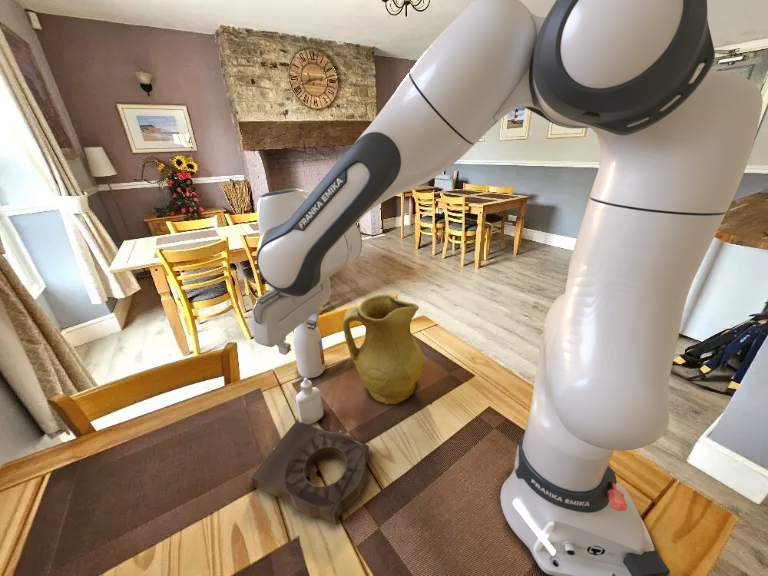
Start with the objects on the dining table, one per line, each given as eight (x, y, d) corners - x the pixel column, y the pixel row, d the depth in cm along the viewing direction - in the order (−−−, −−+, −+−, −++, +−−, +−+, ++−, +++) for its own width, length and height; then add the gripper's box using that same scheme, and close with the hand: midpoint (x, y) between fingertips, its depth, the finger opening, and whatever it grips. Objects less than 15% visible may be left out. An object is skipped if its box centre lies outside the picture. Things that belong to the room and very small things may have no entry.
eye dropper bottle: (322, 424, 72) (316, 384, 67) (298, 426, 72) (290, 386, 67) (324, 410, 76) (319, 371, 71) (301, 412, 76) (294, 373, 71)
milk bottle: (319, 380, 86) (310, 318, 78) (293, 377, 88) (282, 315, 79) (329, 363, 93) (322, 304, 85) (305, 360, 94) (295, 302, 86)
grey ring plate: (377, 455, 65) (377, 445, 64) (342, 532, 52) (340, 521, 51) (299, 427, 72) (298, 418, 70) (251, 489, 59) (248, 479, 58)
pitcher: (406, 420, 72) (403, 326, 63) (343, 396, 81) (331, 310, 72) (434, 378, 86) (434, 295, 77) (376, 361, 95) (370, 285, 86)
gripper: (267, 306, 48) (279, 375, 54) (333, 263, 66) (337, 319, 72) (236, 298, 51) (251, 365, 57) (308, 258, 68) (314, 313, 74)
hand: (299, 339), depth 64 cm, fingers open, 8 cm apart
